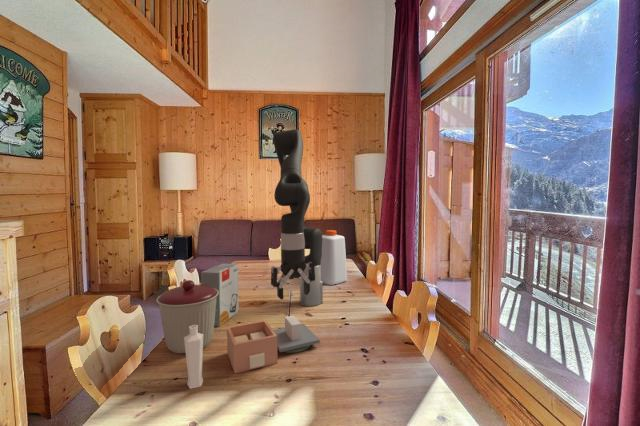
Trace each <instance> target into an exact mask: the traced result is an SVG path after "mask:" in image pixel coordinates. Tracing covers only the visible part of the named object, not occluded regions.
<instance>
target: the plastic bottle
mask: <svg viewBox="0 0 640 426" xmlns="http://www.w3.org/2000/svg"><path fill="white" fill-rule="evenodd" d="M345 239H346V238H345V236H343V235H340V234H337V230H334V229H329V230H328V229H326V230H325V234H322V257H321V281H322V282H323V284H325V285H328V286H335V284H336V285H338V284H342V283H345V282H347V280H348V268H347V256H346V255H347V254H346V253H347V252H346V240H345Z"/></svg>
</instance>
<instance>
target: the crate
mask: <svg viewBox="0 0 640 426" xmlns="http://www.w3.org/2000/svg"><path fill="white" fill-rule="evenodd" d="M273 330H274V329H273V328H272V327H271V325H270V324H269V322H268V321H267V320H265V319H264V320H260V321H253V322H249V323H243V324H237V325H233V326H227V327H226V343H227V348H226V349H227V356H228V358H229V361H230V364H231V367H232V370H233V373H234V374H239V373H243V372H247V371H252V370H255V369H259V368H262V367H267V366H271V365H274V364H275V365H276V364H278V350H277V335H276V333H275V332H274V331H273Z"/></svg>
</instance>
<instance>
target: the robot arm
mask: <svg viewBox="0 0 640 426" xmlns="http://www.w3.org/2000/svg"><path fill="white" fill-rule="evenodd" d="M272 139H273V140H272V142H273V146H274V150H275V154H276V156H277V161H278V163H279V166H280V178H279V181H278V182H277V185H276V187H275V189H274V201H275V202H276V203H277V205H279V207H280V206H281V207H289V209H290V212H288V213H284V214H283V215H281V217H280V226H281V227H280V229H281V230H280V232H281V235H280V259H281V260H280V261H281V264H280V266H274V265H273V266H271V268H270V269H271V270H270V285H271V286H272V287H273V288H276V295H277V297H278V298H279V300H284V288H283V286H284V285H285V284H286V283H287V282H288V281H289V280H293V279H299V302H300V305H302V306H305V307H315V306H318V305H321V304H323V302H324V301H323V300H324V299H323V295H324V293H323V291H324V290H323V288H324V286H323V284H324V283H323V282H322V281H321V257H322V235H323V233H322V231H321V229H319V228H315V227H307V226H306V223H305V222H306V221H305V216H306V213H307V211H308V208H309V206H310V202H311V196H310V195H311V194H310V191H309V190H310V189H309V186H308V183H307V182H306V179H304V178H303V176H302V161H303V154H304V141H303V140H304V139H303V135H302V133H301V131H300V130H299V129H296V128H295V129H288V130H284V131H277V132H275V133H274V134H273V135H272ZM306 250H309V254H308V255H305V254H306V252H305V251H306ZM280 272H281V275H280V277H279V279H278V275H279V274H280Z"/></svg>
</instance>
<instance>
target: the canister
mask: <svg viewBox="0 0 640 426" xmlns="http://www.w3.org/2000/svg"><path fill="white" fill-rule="evenodd" d="M218 294H219V291H218V290H217V289H215V288H213V287H211V286H207V285H201V284H195V281H193V280H190V279H188V280H185V281H183V282H182V285H180V286H176V287H173V288H171V289H168V290H166V291H164V292H163V293H161V294H160V295H158V296H157V298H156V300H155V301H156V303H157V304H158V306H159V313H160V318H161V324H162V326H161V327H162V331H163V335H164V341H165V344H166V347H167V349H168V350H170V352H173V353H175V354H186V351H185V342H184V337H186V336H188V335H189V334H190V328H189V327H190V326H192V325H198V333H200V334H204V335H203V349H205V348H206V347H207V346H208V345H210V343H211V341H212V339H213V336H214V330H215V326H214V322H215V310H216V298H217V296H218Z"/></svg>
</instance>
